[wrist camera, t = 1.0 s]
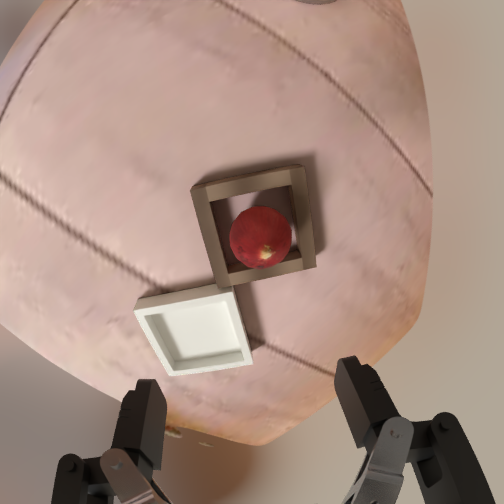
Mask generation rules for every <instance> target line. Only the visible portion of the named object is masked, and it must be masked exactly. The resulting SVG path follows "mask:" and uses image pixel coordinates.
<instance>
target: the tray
mask: <svg viewBox="0 0 504 504" xmlns="http://www.w3.org/2000/svg"><path fill="white" fill-rule="evenodd" d="M133 311H134V313H135V315H136V317H137V319H138V321H139V323H140V325H141V327H142V329H143V331H144V333H145V334H146V336H147V338H148V340H149V342H150V344H151V345H152V347H153V349H154V351H155V353H156V354H157V356H158V358H159V359H160V361H161V363H162V365H163V366H164V368H165V370H166V371H167V373H168V375H169V376H177V375H186V374H194V373H201V372H208V371H215V370H221V369H227V368H233V367H239V366H245V365H250V364H253V356H252V350H251V347H250V343H249V340H248V337H247V333H246V330H245V326H244V322H243V319H242V315H241V312H240V308H239V305H238V301H237V297H236V294H235V290H234V286H228V287H223V288H219V289H218V287H217V284H212V285H207V286H202V287H197V288H192V289H187V290H182V291H177V292H172V293H167V294H162V295H157V296H151V297H146V298H141V299H138V300H137V302H136V305H135V307H134V310H133Z"/></svg>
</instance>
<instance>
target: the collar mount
mask: <svg viewBox="0 0 504 504" xmlns="http://www.w3.org/2000/svg"><path fill="white" fill-rule="evenodd" d="M286 185H288V188H289V195H290V201H291V207H292V214H293V221H294V228H295V235H296V242H297V249H298V250H296V251H291V252H288V254H287V255H286V256H285V258H284V259H283V260H282V261H281V262H279V263H277V264H276V265H274V266H272V267H269V268H265V269H261V270H259V269H255V268H251V267H248V266H246V265H245V264H243V263H242V262H241V263H236V264H232V265H228V264H227V260H226V257H225V253H224V249H223V245H222V241H221V238H220V234H219V230H218V226H217V222H216V218H215V214H214V210H213V206H212V202H211V201H215V200H219V199H224V198H228V197H233V196H237V195H242V194H246V193H251V192H256V191H261V190H266V189H271V188H276V187H281V186H286ZM190 192H191V196H192V200H193V204H194V207H195V211H196V215H197V218H198V222H199V226H200V229H201V233H202V236H203V240H204V243H205V247H206V250H207V254H208V257H209V261H210V264H211V268H212V271H213V274H214V278H215V281H216V284H217V287H218V289H219V288H223V287H228V286H233V285H238V284H242V283H247V282H252V281H256V280H261V279H266V278H270V277H275V276H279V275H284V274H288V273H293V272H297V271H301V270H306V269H310V268H314V267H317V266H316V256H315V246H314V237H313V228H312V219H311V211H310V203H309V196H308V189H307V181H306V175H305V168H304V166H302V165H300V164H297V165H291V166H285V167H280V168H274V169H269V170H264V171H259V172H254V173H249V174H244V175H239V176H235V177H230V178H226V179H221V180H217V181H213V182H208V183H204V184H200V185H196V186H192V188H191V190H190Z"/></svg>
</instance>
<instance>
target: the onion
mask: <svg viewBox="0 0 504 504" xmlns="http://www.w3.org/2000/svg"><path fill="white" fill-rule="evenodd" d="M229 238H230V247H231V249H232V251H233V253H234V255H235V256H236V258H237V259H238V260H239V261H241V262H242V263H243V264H245V265H246V266H248V267H251V268H255V269H259V270H261V269H265V268H269V267H272V266H274V265H276V264H277V263H279V262H281V261H282V260H283V259H284V258H285V256H286V255H287V254H288V252H289V249H290V246H291V242H292V230H291V227H290V225H289V223H288V222H287V220H286V218H285V217H284V216H283V215H282V214H280V213H279V212H278V211H276V210H275V209H273V208H269V207H266V206H257V207H251V208H249V209H247V210H245V211H243V212H241V213H240V214H239V215H238V217H237V218H236V219H235V220H234V221H233V223H232V227H231V230H230V234H229Z"/></svg>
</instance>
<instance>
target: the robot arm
mask: <svg viewBox="0 0 504 504" xmlns="http://www.w3.org/2000/svg"><path fill="white" fill-rule="evenodd" d="M297 1H300V2H303V3H309V4H326V3H331V2H333V1H336V0H297ZM334 386H335V391H336V394H337V396H338V399H339V401H340V404H341V406H342V409H343V412H344V414H345V417H346V419H347V422H348V425H349V427H350V430H351V433H352V435H353V438H354V441H355V443H356V446H357V448H361V447H364V446H365V448H366V451H367V453H366V455H365V458H364V460H363V463H362V465H361V467H360V469H359V472H358V474H357V476H356V478H355V480H354V482H353V485H352V486H351V488H350V490H349V492H348V494H347V495H346V497H345V498H344V500H343V502H342V504H395V503H396V500H397V498H398V495H399V492H400V490H401V487H402V484H403V480H404V476H403V475H402V472H403V469H404V466H405V463H409V462H411V464H412V467H413V469H414V472H415V475H416V478H417V480H418V483H419V486H420V489H421V492H422V495H423V498H424V501H425V504H495V501H494V498H493V496H492V493H491V490H490V488H489V485H488V483H487V480H486V478H485V476H484V473H483V471H482V469H481V466H480V464H479V462H478V460H477V458H476V455H475V454H474V451H473V449H472V447H471V445H470V443H469V441H468V439H467V437H466V435H465V433H464V431H463V429H462V427H461V425H460V423H459V421H458V419H457V418H456V417H455V416H454V415H453V414H451V413H448V412H442V413H439V414H437V415H436V416H435V417H434V418H433V419H432V420H429V421H419V422H411V421H409V420H408V419H406V418H404V417H401V415H400V414H399V413H398V411H397V409H396V407H395V405H394V403H393V402H392V400H391V398H390V396H389V394H388V392H387V390H386V389H385V388H384V385H383V383H382V381H381V380H380V377H379V376H378V374H377V372H376V371H375V370H374V369H373V368H372V367H371V366H369V365H368V364H365V365H361V364H360V362H359V360H358V358H357V357H356V356H350V357H346V358H341V359H339V360H338V363H337V368H336V374H335V379H334ZM166 414H167V403H166V399H165V397H164V395H163V393H162V391H161V389H160V387H159V385H158V383H157V381H156V380H155V379H139V380H138V381H137V384H136V388H135V390H129V391H128V393H127V394H126V395H125V397H124V398H123V400H122V404H121V410H120V412H119V418H118V421H117V425H116V429H115V433H114V438H113V442H112V446H111V448H110V449H109V450H107V451H105V452H104V453H103V454H102V456H101V457H96V458H88V459H81V458H80V457H79V456H77V455H75V454H66V455H64V456H63V457H62V458H61V459H60V460H59V463H58V467H57V472H56V477H55V482H54V488H53V495H52V501H51V504H113V500H114V496H116V495H117V497H118V499H119V500H120V502H121V504H173V503H172V502H171V501H170V499H169V498H168V497H167V496H166V494H165V493H164V492H163V491H162V489H161V488H160V487H159V485H158V484H157V483H156V481H155V480H154V479H153V478H152V474H153V470H161V461H162V451H163V441H164V431H165V423H166Z"/></svg>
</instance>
